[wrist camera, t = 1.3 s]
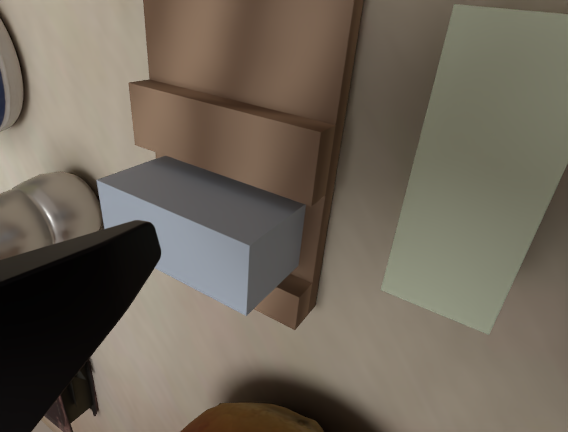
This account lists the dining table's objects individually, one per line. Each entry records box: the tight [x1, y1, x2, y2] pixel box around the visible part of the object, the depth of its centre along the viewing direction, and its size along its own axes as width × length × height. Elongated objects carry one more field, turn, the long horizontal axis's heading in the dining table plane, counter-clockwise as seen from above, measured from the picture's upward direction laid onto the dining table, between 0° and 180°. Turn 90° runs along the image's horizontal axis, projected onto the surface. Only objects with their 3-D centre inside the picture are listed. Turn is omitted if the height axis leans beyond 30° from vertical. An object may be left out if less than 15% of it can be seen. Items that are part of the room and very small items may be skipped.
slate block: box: [97, 156, 306, 316], centre depth 22 cm, size 10×4×5 cm, turn 84°
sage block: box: [381, 4, 568, 335], centre depth 14 cm, size 10×4×5 cm, turn 174°
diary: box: [44, 359, 98, 432], centre depth 49 cm, size 19×25×5 cm
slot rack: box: [129, 0, 364, 330], centre depth 21 cm, size 12×20×2 cm, turn 174°
